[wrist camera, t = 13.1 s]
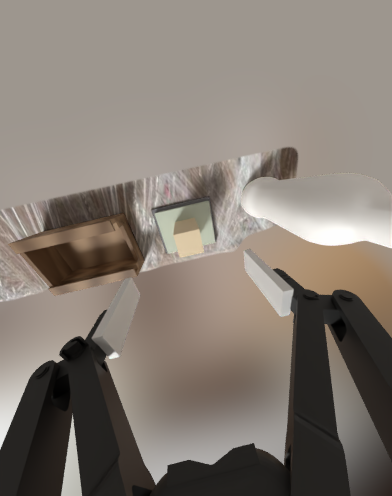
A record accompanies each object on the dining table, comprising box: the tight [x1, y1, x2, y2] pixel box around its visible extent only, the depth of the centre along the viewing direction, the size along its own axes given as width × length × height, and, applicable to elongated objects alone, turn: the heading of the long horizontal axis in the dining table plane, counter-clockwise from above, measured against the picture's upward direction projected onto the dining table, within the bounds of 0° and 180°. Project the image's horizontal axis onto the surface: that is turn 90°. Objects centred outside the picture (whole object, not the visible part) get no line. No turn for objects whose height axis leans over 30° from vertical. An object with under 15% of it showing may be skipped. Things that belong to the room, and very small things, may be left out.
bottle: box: [241, 173, 392, 248], centre depth 18 cm, size 8×8×30 cm
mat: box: [152, 197, 216, 253], centre depth 33 cm, size 13×11×1 cm
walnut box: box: [8, 213, 145, 296], centre depth 30 cm, size 18×12×7 cm
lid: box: [155, 201, 215, 258], centre depth 28 cm, size 12×10×10 cm
